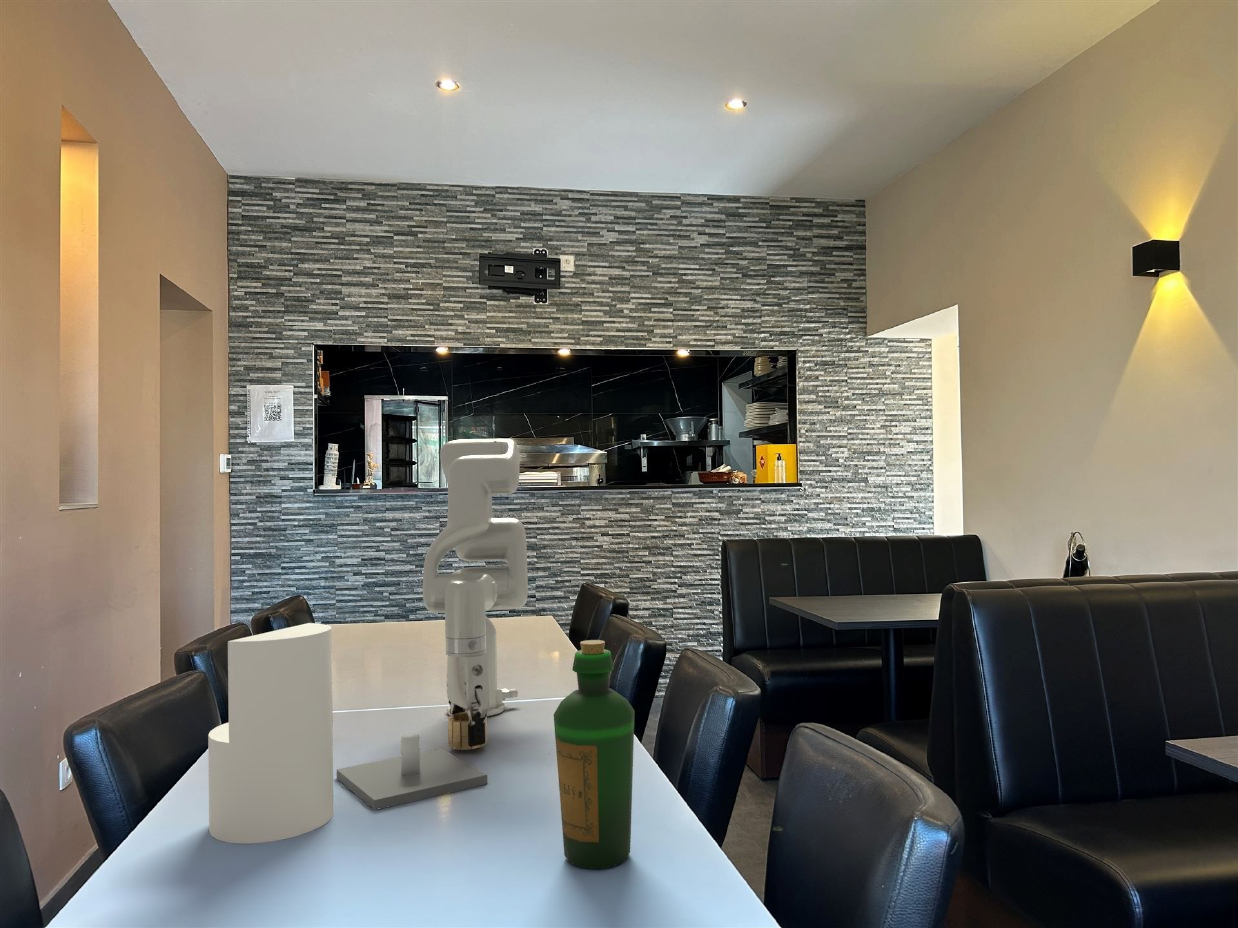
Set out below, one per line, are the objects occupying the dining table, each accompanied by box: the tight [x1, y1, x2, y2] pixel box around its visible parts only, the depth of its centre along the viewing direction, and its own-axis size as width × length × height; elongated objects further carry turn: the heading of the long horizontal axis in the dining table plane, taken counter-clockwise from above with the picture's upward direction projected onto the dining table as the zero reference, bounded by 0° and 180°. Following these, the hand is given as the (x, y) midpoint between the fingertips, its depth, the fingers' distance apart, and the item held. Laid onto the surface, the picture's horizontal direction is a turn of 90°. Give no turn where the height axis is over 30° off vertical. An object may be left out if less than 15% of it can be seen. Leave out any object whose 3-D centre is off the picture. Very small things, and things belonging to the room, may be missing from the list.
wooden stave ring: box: [447, 712, 488, 751], centre depth 165 cm, size 7×7×5 cm
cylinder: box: [207, 622, 335, 845], centre depth 131 cm, size 17×17×28 cm
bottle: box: [553, 639, 636, 870], centre depth 115 cm, size 11×11×28 cm
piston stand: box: [336, 733, 488, 811], centre depth 147 cm, size 19×19×8 cm
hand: (467, 739), depth 165 cm, fingers closed on wooden stave ring, 7 cm apart
